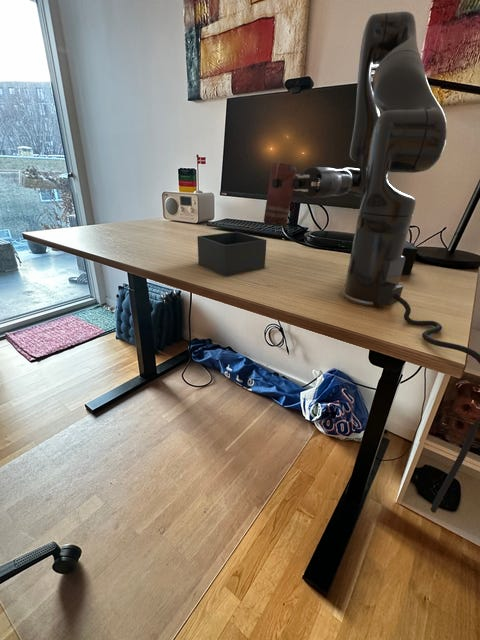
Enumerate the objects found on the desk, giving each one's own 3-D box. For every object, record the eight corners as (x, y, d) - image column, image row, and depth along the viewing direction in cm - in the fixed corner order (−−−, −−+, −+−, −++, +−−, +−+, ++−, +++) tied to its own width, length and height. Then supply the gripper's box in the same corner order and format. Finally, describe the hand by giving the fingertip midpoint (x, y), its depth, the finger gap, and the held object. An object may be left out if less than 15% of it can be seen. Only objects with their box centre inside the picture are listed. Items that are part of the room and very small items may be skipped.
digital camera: (415, 275, 79) (423, 249, 76) (393, 273, 80) (400, 247, 77) (404, 264, 88) (411, 240, 85) (384, 263, 89) (390, 239, 86)
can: (259, 222, 76) (268, 161, 71) (268, 223, 82) (277, 166, 77) (281, 226, 74) (292, 163, 69) (289, 226, 79) (300, 168, 74)
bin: (264, 267, 82) (266, 239, 78) (225, 276, 74) (225, 245, 71) (236, 257, 91) (236, 231, 88) (198, 263, 84) (197, 236, 80)
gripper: (304, 167, 84) (257, 165, 75) (344, 167, 75) (296, 165, 65) (301, 195, 88) (256, 197, 78) (339, 199, 78) (292, 202, 69)
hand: (274, 183), depth 72 cm, fingers closed
